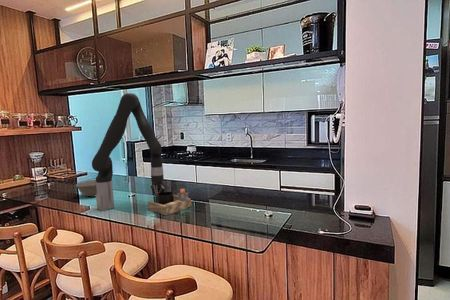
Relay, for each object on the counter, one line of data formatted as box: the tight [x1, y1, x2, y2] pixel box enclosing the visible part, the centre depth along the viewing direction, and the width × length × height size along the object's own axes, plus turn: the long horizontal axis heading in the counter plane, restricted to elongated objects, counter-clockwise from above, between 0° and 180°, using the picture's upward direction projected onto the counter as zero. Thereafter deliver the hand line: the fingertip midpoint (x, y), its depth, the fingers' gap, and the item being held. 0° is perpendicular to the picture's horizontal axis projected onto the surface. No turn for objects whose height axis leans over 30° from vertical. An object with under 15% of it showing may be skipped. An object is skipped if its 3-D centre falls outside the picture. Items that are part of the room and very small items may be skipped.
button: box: [179, 188, 186, 194], centre depth 173 cm, size 3×3×4 cm
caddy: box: [147, 192, 192, 216], centre depth 175 cm, size 19×17×9 cm
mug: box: [157, 191, 174, 205], centre depth 176 cm, size 9×12×9 cm
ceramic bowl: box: [75, 179, 97, 197], centre depth 216 cm, size 22×23×10 cm
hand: (158, 201), depth 182 cm, fingers closed
